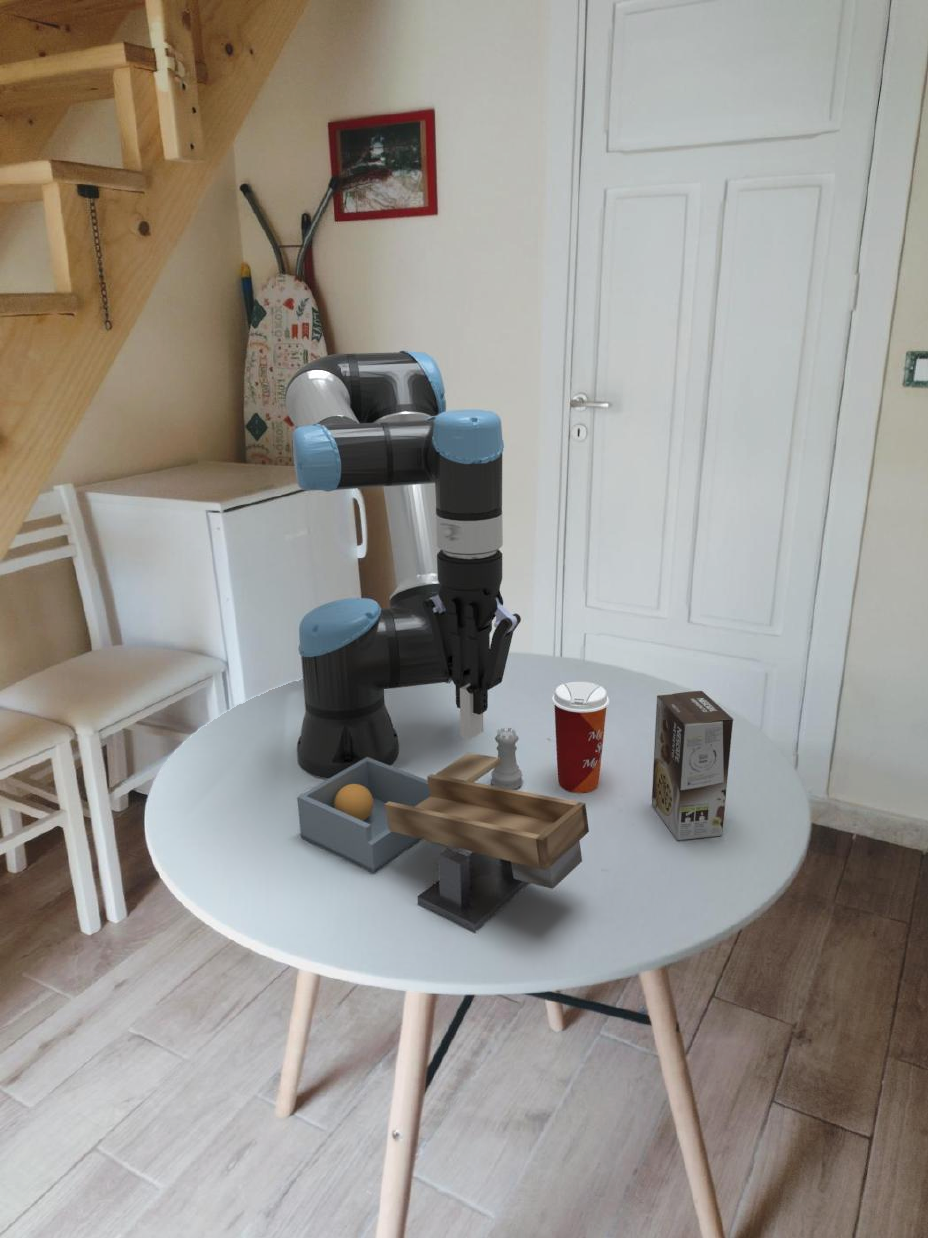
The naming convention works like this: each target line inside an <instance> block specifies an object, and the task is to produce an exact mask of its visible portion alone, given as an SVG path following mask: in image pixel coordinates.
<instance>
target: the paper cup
mask: <svg viewBox="0 0 928 1238" xmlns="http://www.w3.org/2000/svg"><path fill="white" fill-rule="evenodd" d="M607 694H608V693H607V691H606V689H605V688H604V687H603V686H601V685H599V684H596V683H593V682H589V681H588V682H587V681H571V682H570V681H569V682H566V683H562V684H560V685H558V686H557V687H556V689H555V692H554V694H553V695H552V698H551V702H552V704H553V705H554V724H555V746H556V748H555V749H556V765H557V767H556V768H557V780H558V781H557V782H558V785H559V787H561V789H563V790H565V791H567V792H569V793H577V794H584V793H585V794H586V793H589V792H592V791H594V790H595V789H597V788H598V786H599V780H600V774H601V772H600V771H601V766H602V765H601V764H602V757H603V756H602V754H603V744H604V735H605V725H606V724H605V723H606V717H607V707H608V706H609V704H610V698H609V697H608V695H607Z"/></svg>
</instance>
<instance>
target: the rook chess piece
mask: <svg viewBox="0 0 928 1238" xmlns="http://www.w3.org/2000/svg"><path fill="white" fill-rule="evenodd" d="M494 741H495V742H496V743H497V746H496V750H497V752H498V753H497V757H499V758H500V762H501V764H499V765H498V766H496V767H495V768H494V769H492V770H491V779H490V781H491V784H492V786H497V787H502V788H507V789H513V790H517V789H519V787H520V786H521V785H522V783H523V782H524V781H523V778H522V777H523V772H522V770H521V768H520V766H519V765H518V764H517V756H516V752H517V749H518V747H517V746H516V743H518V741H519V736H518V735H517V732H516V730H515V729H512V728H510V727H507V730H505V727H504V728H500V729H498V730H497V734H496V736H495V737H494Z"/></svg>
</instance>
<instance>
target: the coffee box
mask: <svg viewBox="0 0 928 1238" xmlns="http://www.w3.org/2000/svg"><path fill="white" fill-rule="evenodd" d="M655 707H656V709H655V727H654V729H655V730H654V746H653V747H654V749H653V765H652V766H653V770H652V793H651V806H652V807H653V809H654V810H655V812H656V813H657V814H658V816H659V817H660V818H661V820H662V821H663V823H664V824H665V826H666V828H668V829H669V831H670V832H671V834H672V835H673V837H674V838H675V839H676V840H677V841H683V840H692V839H694V840H695V839H702V838H711V837H720V836H721V837H722V835H723V832H724V821H725V819H724V818H725V811H726V810H725V808H726V800H727V788H728V779H729V778H728V777H729V768H730V767H729V766H730V756H731V746H732V735H733V734H732V733H733V725H734V718H733V717H732V716H731V715H730V714H729V713H727V712H726V711H725V710H724V709H723V708H722V707H720V706H719V704H717V703H716V702H715V701H714V700H713V699H712V698H710V696H708V695H707V694H706V693H705V692H704V691H703V690H694V691H693V690H692V691H685V692H684V691H683V692H677V693H671V694H660V695H656V706H655Z"/></svg>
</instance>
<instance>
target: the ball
mask: <svg viewBox="0 0 928 1238" xmlns="http://www.w3.org/2000/svg"><path fill="white" fill-rule="evenodd" d="M334 808H335V809H337V810H339V811H341V812H344V813H346V814H348V815H350V816H353V817H355V818H357V819H359V820H362V821H364V820H365V819H366V818H367V817H368V816H369V815H370V814H371V812H372V809H373V797H372V795H371V793H370V791H369V790H368V789H367V788H365V787H364V786H362V785H359V784H349V785H347V786H344V787H343V788H342V789H340V791H339V792H338V793H337V795H336V797H335V801H334Z"/></svg>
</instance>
